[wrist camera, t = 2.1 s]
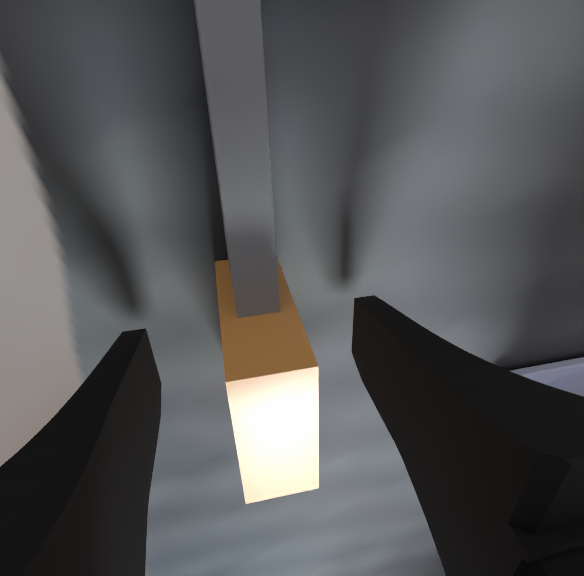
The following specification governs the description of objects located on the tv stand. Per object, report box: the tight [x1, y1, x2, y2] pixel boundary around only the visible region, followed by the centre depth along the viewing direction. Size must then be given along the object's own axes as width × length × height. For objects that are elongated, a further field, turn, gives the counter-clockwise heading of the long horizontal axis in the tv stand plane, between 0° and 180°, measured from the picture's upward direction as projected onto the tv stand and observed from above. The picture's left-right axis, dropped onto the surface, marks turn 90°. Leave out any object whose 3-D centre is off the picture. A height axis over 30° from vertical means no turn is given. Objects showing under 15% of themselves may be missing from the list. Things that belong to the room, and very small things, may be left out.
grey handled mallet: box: [194, 0, 319, 504], centre depth 8 cm, size 14×2×5 cm, turn 2°
